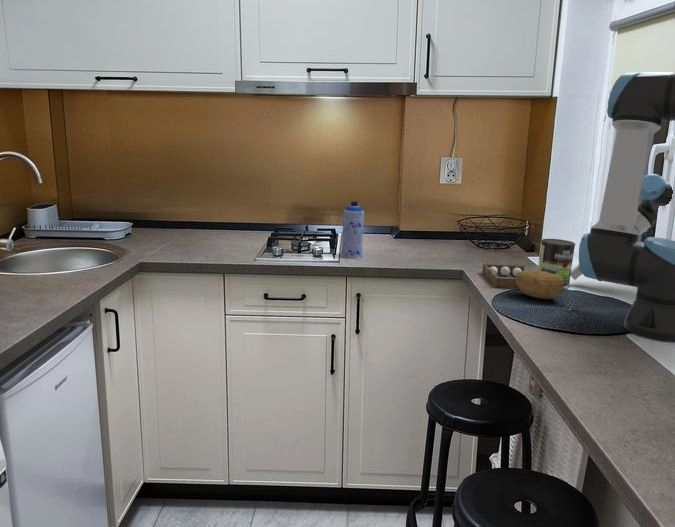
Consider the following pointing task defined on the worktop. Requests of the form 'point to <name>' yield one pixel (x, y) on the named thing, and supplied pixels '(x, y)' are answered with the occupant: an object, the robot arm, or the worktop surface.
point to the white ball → (516, 271)
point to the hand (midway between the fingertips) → (571, 276)
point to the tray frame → (501, 281)
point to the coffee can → (557, 258)
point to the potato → (539, 284)
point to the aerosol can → (352, 231)
